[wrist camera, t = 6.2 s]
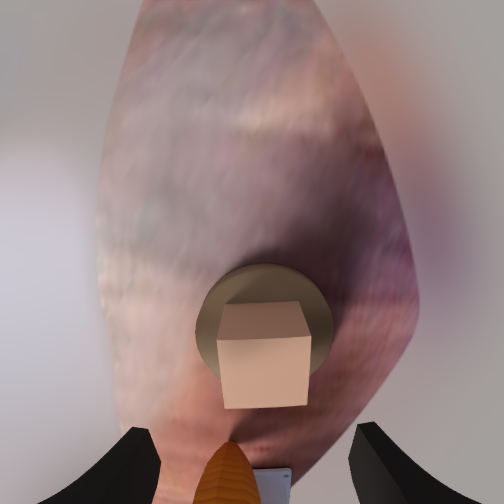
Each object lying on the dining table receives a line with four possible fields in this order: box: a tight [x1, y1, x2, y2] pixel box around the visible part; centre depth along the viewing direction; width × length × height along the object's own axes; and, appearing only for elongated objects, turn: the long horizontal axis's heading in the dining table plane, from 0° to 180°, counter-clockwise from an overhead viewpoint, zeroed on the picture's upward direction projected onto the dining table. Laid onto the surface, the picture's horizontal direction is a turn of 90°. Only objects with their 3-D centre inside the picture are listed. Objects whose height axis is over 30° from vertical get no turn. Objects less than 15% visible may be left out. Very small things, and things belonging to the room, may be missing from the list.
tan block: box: [217, 301, 311, 408], centre depth 15 cm, size 4×4×4 cm
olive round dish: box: [195, 263, 334, 378], centre depth 18 cm, size 8×8×2 cm
